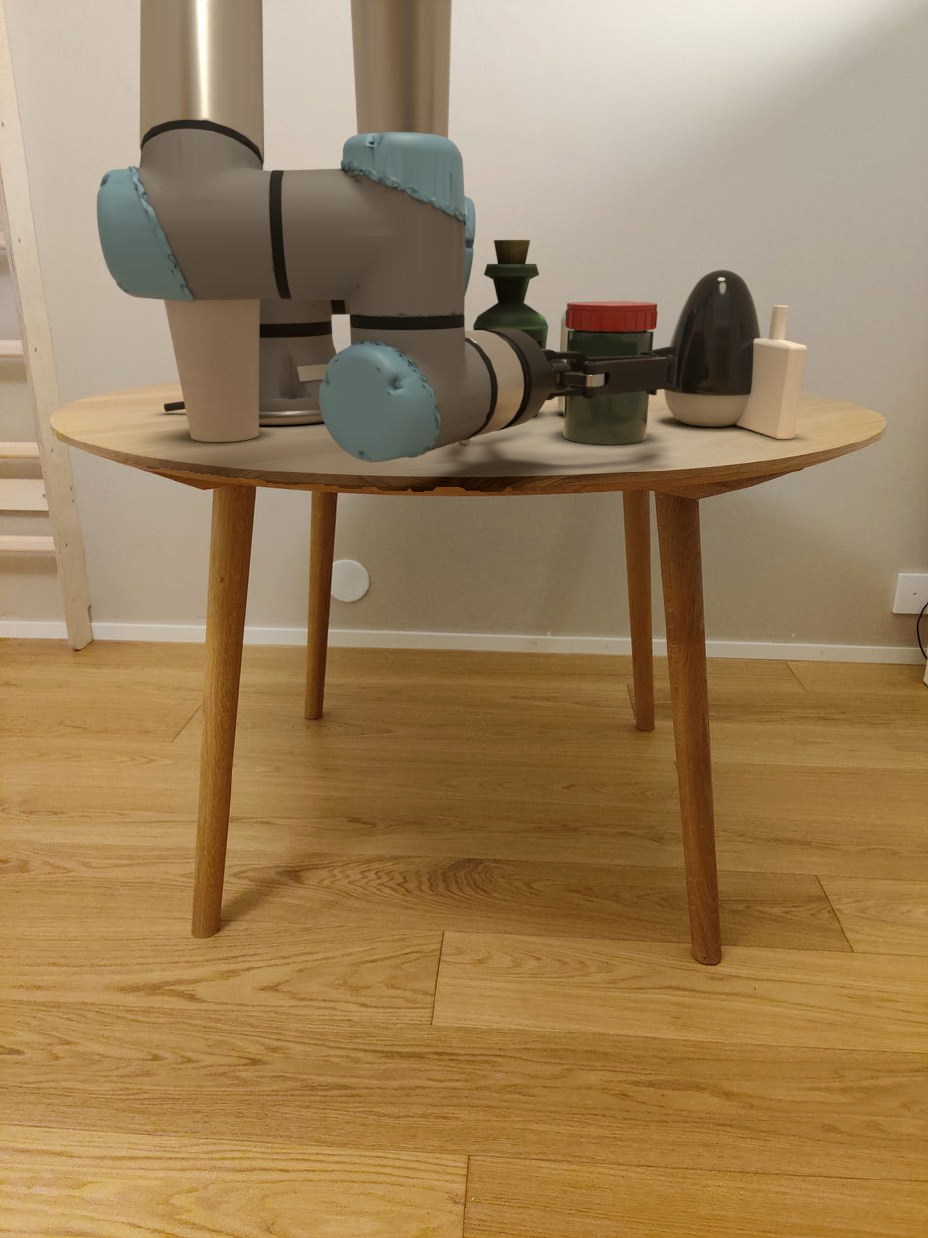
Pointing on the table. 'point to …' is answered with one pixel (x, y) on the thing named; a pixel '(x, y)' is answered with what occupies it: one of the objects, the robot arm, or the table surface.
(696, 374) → the black and white egg
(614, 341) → the jar
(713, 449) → the table surface
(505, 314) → the potion bottle
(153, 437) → the table surface
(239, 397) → the coffee cup
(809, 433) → the table surface
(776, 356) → the perfume bottle
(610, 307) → the lid
